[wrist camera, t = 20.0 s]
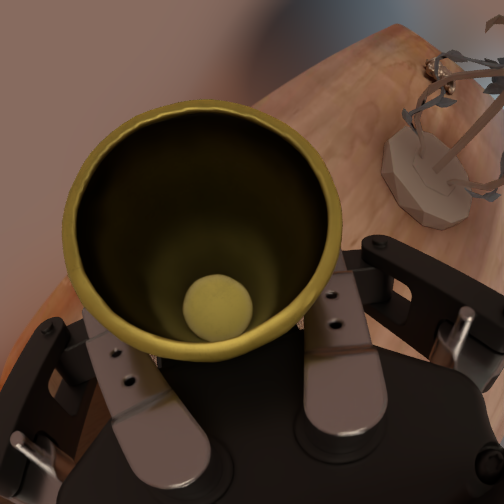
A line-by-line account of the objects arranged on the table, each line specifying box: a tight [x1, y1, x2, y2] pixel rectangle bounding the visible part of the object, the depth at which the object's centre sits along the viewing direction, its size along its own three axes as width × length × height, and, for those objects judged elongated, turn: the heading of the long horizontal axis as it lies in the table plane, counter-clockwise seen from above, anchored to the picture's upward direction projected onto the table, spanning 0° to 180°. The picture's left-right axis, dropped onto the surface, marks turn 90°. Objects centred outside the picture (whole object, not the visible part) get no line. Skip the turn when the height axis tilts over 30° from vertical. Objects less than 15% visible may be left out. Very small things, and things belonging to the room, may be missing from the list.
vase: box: [62, 99, 343, 363], centre depth 12 cm, size 6×6×14 cm
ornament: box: [425, 57, 455, 94], centre depth 36 cm, size 8×7×4 cm
